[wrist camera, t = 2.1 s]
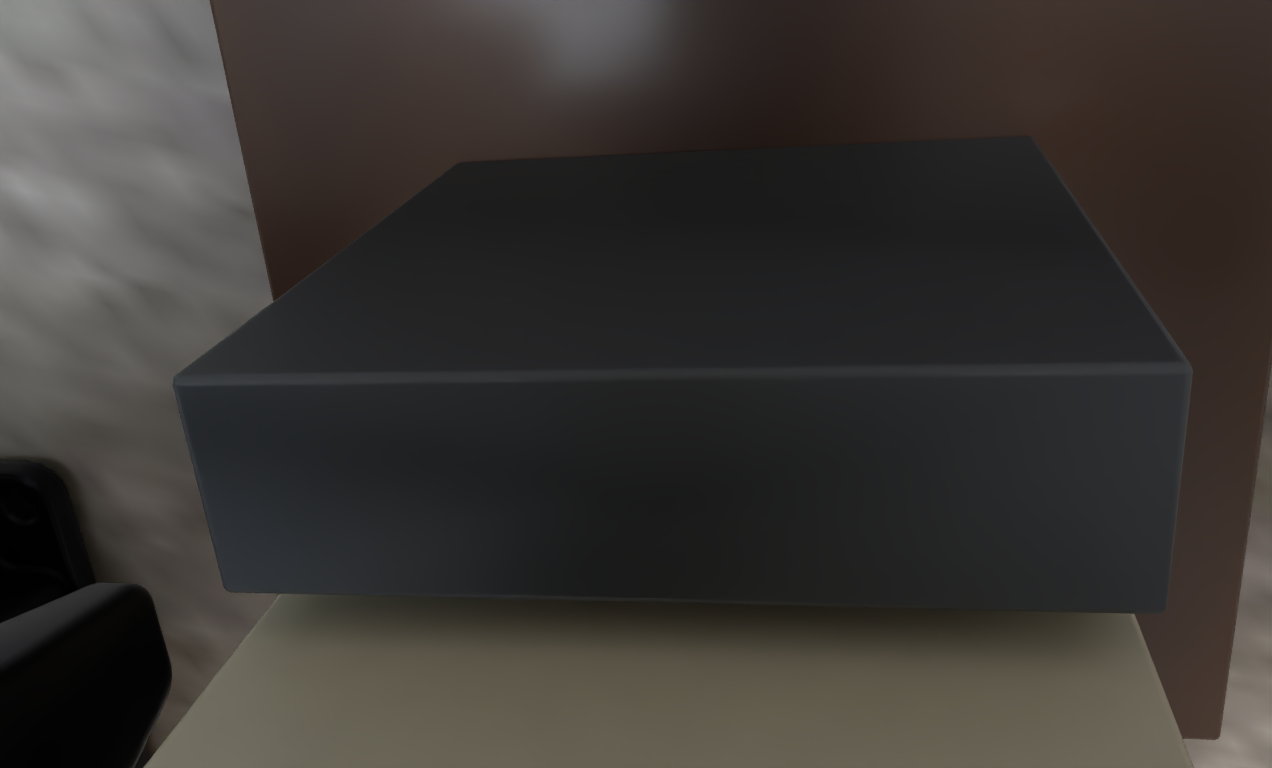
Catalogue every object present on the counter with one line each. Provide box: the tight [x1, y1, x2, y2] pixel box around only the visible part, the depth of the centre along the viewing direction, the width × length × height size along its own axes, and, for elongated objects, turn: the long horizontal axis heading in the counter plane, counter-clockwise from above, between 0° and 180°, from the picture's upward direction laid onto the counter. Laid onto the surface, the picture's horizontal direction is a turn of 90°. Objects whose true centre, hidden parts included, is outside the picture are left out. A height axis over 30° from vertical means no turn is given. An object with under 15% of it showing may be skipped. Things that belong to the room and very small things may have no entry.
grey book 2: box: [173, 136, 1193, 614], centre depth 10 cm, size 6×2×6 cm, turn 95°
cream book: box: [143, 594, 1194, 768], centre depth 10 cm, size 6×2×8 cm, turn 95°
